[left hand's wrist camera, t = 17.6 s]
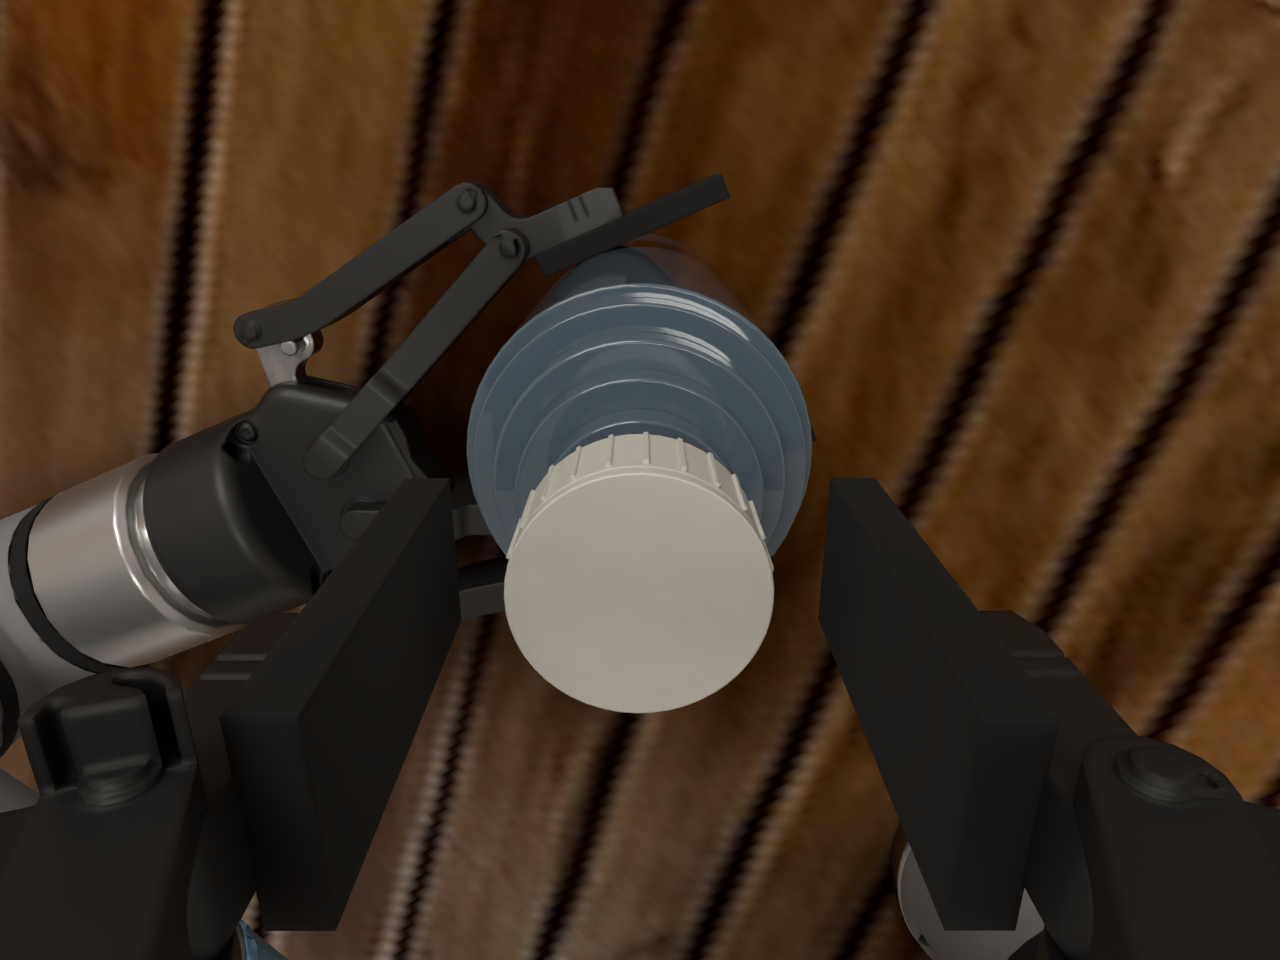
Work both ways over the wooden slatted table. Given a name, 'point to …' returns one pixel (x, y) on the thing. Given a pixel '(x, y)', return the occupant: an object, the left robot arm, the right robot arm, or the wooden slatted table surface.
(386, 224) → the wooden slatted table surface
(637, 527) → the cap
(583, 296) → the bottle
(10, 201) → the wooden slatted table surface
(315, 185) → the wooden slatted table surface
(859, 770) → the wooden slatted table surface
